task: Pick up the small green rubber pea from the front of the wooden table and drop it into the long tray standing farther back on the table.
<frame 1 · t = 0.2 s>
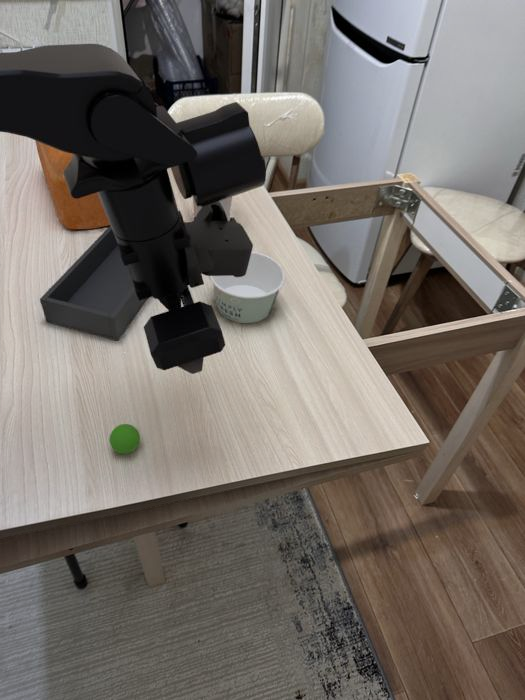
hand: (186, 340, 53), 14 cm above the table, tool pointing down, fingers open, 9 cm apart
coffee cup: (211, 225, 96), on the table
bread: (86, 196, 100), on the table
pea: (126, 446, 59), on the table
tray: (121, 282, 81), on the table
food container: (244, 305, 80), on the table
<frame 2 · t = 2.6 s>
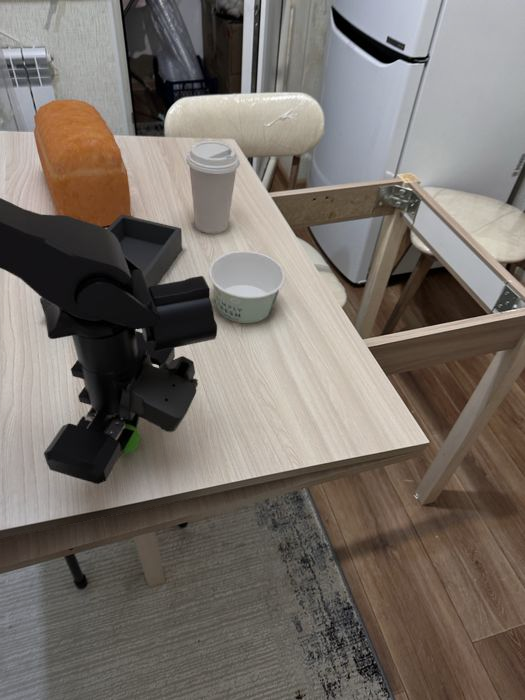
hand: (125, 442, 59), 1 cm above the table, tool pointing down, fingers closed on pea, 3 cm apart
pea: (126, 446, 59), on the table, touching gripper
everything else where it was.
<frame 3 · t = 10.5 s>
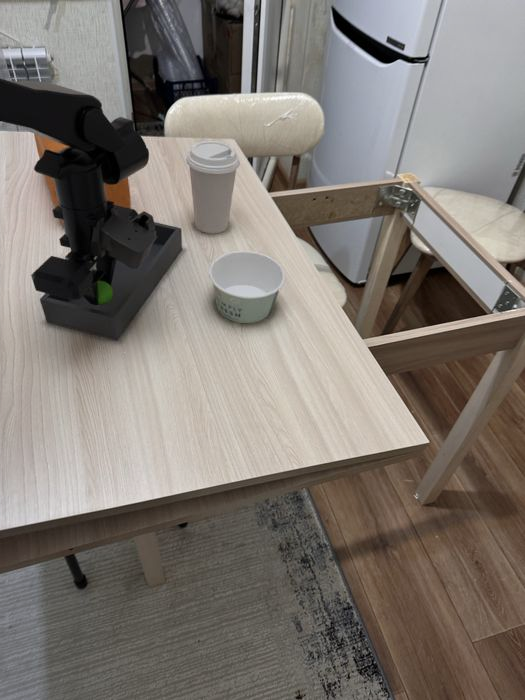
hand: (100, 296, 71), 5 cm above the table, tool pointing down, fingers closed on pea, 3 cm apart
pea: (102, 302, 72), point 4 cm above the table, touching gripper
everything else where it was.
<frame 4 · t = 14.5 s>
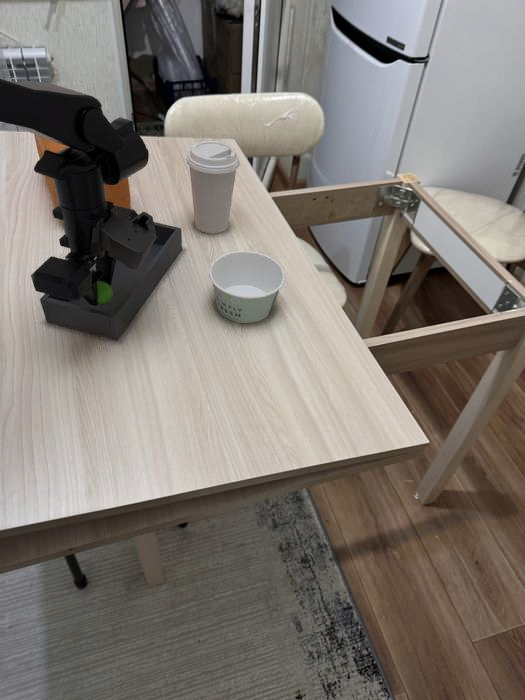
hand: (100, 297, 71), 5 cm above the table, tool pointing down, fingers closed on pea, 3 cm apart
pea: (101, 302, 72), point 4 cm above the table, touching gripper
everything else where it was.
when the fingers open (7 cm above the table, at t = 18.4 s): pea drops 5 cm, resting on tray.
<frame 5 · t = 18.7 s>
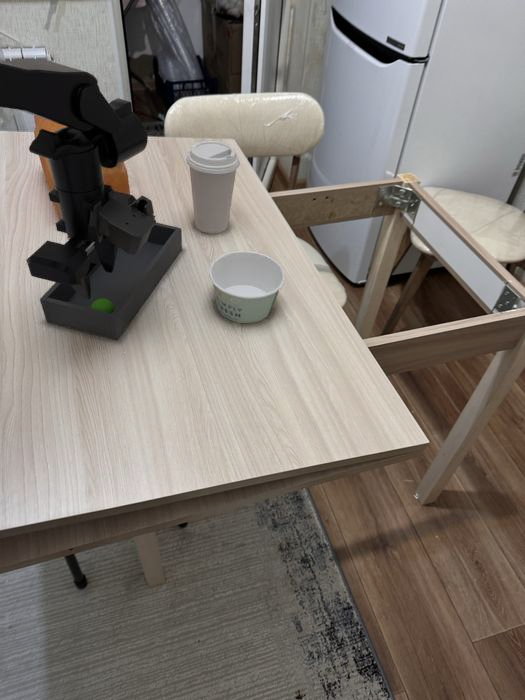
hand: (98, 284, 69), 7 cm above the table, tool pointing down, fingers open, 6 cm apart
pea: (105, 318, 74), point 1 cm above the table, tilted 7°, touching tray
everything else where it was.
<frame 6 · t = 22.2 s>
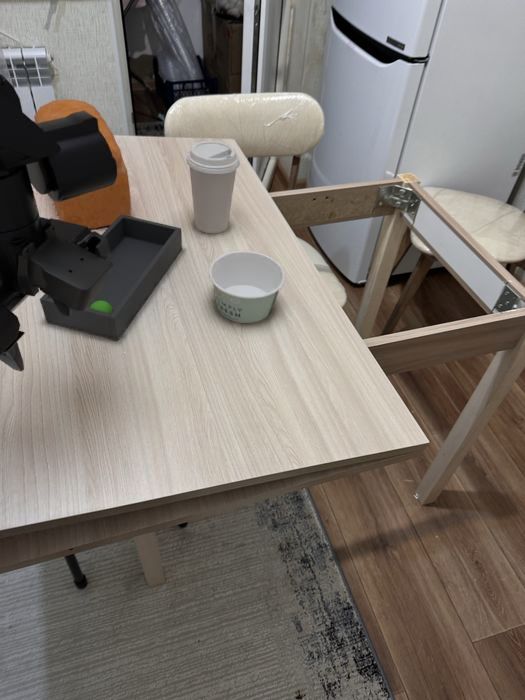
hand: (43, 340, 54), 12 cm above the table, tool pointing down, fingers open, 9 cm apart
pea: (105, 317, 74), point 1 cm above the table, tilted 24°, touching tray
everything else where it was.
at the end: pea inside the target area in the tray (9.6 cm from its centre), point 0.6 cm above the tray's base; the gripper is holding nothing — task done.
